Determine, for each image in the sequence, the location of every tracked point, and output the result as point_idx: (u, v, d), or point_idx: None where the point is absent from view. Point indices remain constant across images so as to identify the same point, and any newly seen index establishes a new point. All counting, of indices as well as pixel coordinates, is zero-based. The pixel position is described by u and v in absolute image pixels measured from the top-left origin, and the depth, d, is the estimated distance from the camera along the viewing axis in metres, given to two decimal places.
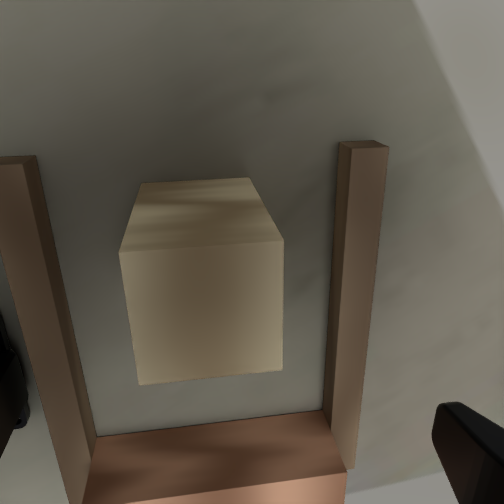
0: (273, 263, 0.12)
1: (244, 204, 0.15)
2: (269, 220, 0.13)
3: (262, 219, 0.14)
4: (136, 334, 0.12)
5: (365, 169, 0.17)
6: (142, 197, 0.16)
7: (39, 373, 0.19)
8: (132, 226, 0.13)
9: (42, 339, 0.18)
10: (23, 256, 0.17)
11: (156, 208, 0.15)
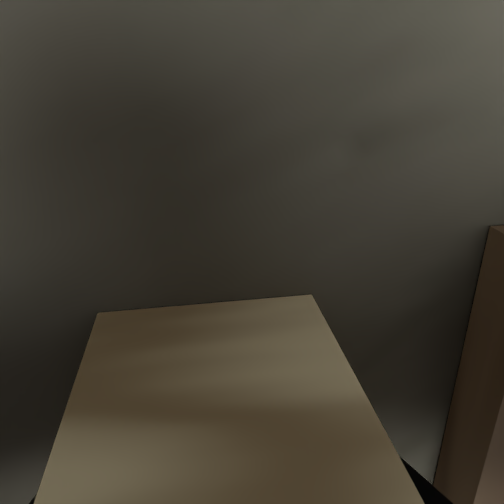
0: None
1: (336, 426, 0.06)
2: None
3: None
4: None
5: None
6: (88, 381, 0.07)
7: None
8: None
9: None
10: None
11: (114, 448, 0.06)
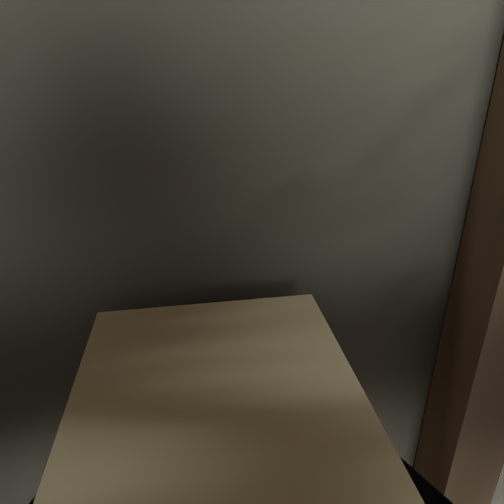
0: None
1: (335, 426, 0.06)
2: None
3: None
4: None
5: None
6: (87, 381, 0.07)
7: None
8: None
9: None
10: None
11: (113, 447, 0.06)
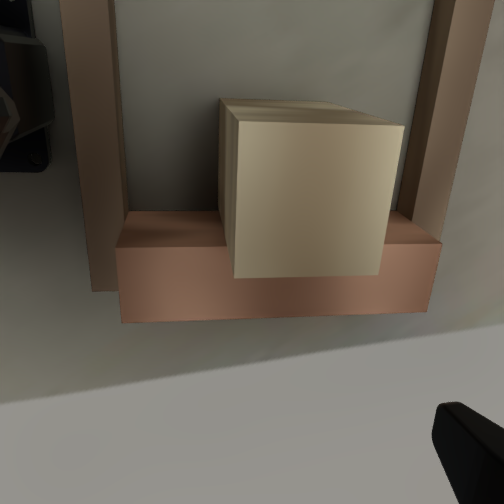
0: (390, 151, 0.12)
1: (340, 111, 0.15)
2: (376, 118, 0.13)
3: (368, 117, 0.13)
4: (241, 218, 0.12)
5: None
6: (229, 103, 0.15)
7: (74, 69, 0.15)
8: (237, 112, 0.13)
9: (83, 12, 0.14)
10: None
11: (251, 107, 0.14)
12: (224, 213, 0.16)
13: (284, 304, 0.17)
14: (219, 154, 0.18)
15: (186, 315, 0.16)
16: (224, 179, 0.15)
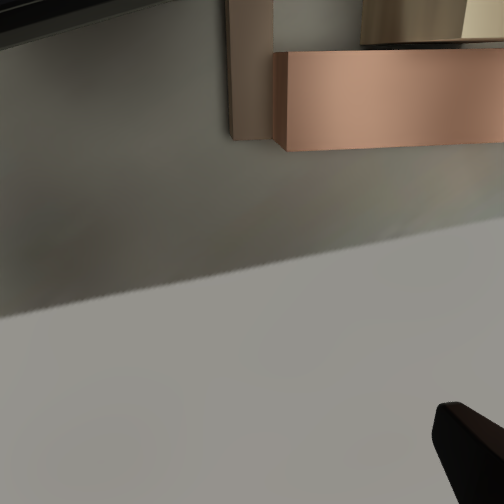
0: None
1: None
2: None
3: None
4: None
5: None
6: None
7: None
8: None
9: None
10: None
11: None
12: (400, 16, 0.14)
13: (461, 127, 0.15)
14: None
15: (356, 141, 0.15)
16: None
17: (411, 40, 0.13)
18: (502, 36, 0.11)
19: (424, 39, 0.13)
